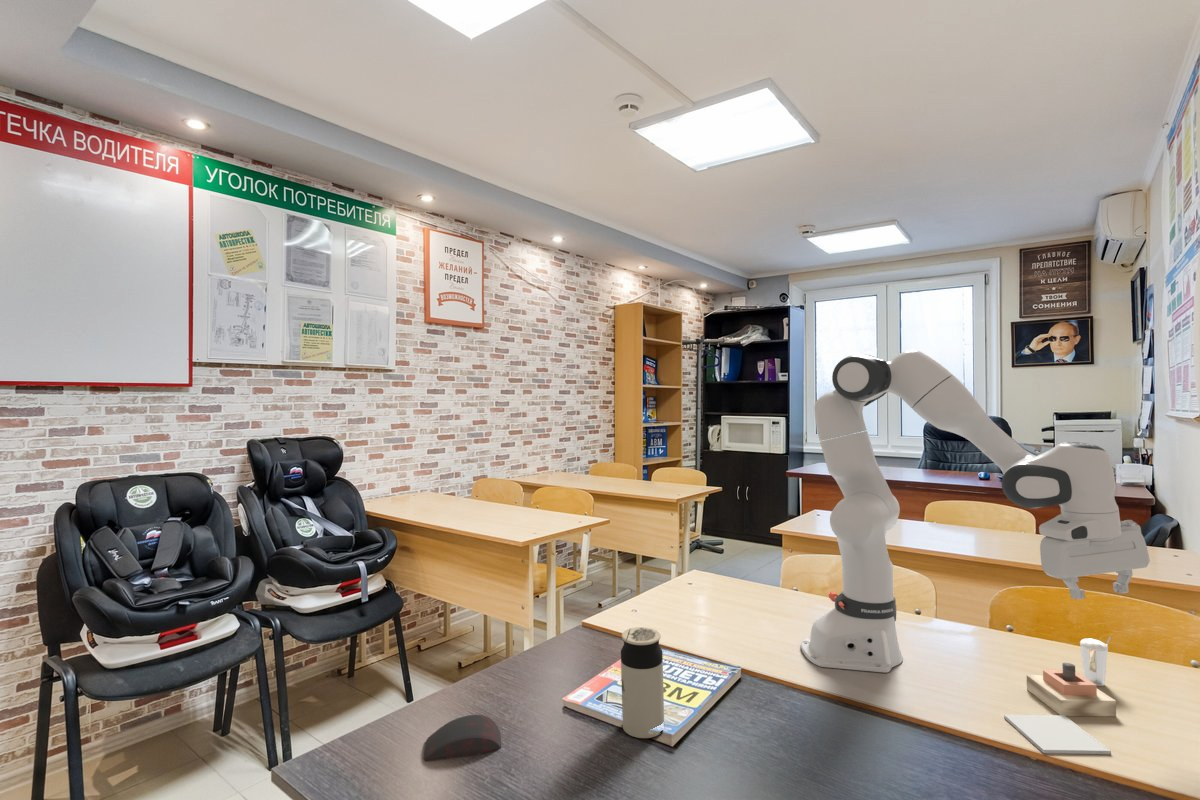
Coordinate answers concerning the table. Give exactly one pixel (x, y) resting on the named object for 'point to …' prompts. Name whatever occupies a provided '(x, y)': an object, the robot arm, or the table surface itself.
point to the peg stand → (1071, 697)
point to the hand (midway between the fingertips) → (1099, 595)
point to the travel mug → (642, 681)
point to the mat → (1056, 734)
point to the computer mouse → (463, 738)
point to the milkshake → (1094, 660)
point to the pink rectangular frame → (1069, 683)
